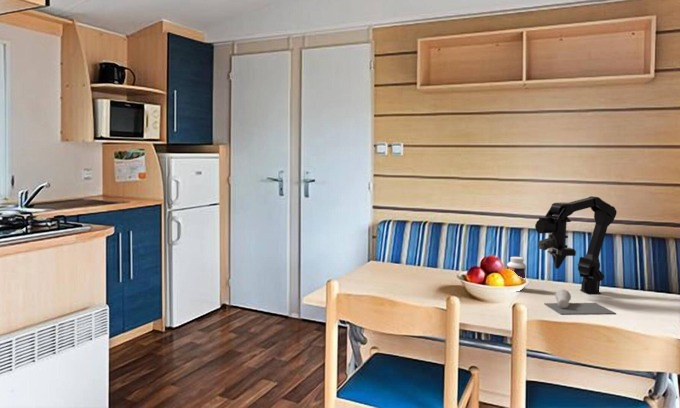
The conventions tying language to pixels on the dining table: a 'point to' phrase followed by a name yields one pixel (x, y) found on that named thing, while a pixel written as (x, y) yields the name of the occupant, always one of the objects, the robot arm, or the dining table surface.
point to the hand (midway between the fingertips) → (556, 268)
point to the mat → (580, 308)
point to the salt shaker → (563, 298)
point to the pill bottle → (517, 266)
